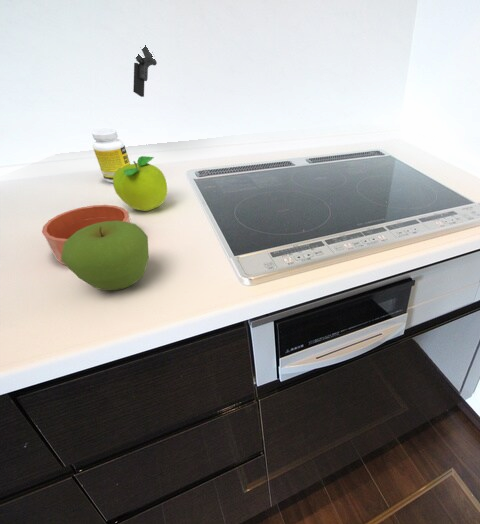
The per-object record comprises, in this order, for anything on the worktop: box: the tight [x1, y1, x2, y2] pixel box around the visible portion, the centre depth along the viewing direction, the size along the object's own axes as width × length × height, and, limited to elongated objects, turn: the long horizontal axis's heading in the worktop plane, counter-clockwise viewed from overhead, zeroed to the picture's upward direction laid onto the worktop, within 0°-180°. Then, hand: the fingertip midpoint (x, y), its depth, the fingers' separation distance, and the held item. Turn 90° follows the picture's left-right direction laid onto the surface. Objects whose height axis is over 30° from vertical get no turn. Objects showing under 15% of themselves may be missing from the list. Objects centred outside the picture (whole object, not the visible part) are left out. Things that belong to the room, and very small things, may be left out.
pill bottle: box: [91, 128, 131, 184], centre depth 84 cm, size 6×6×11 cm
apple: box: [61, 221, 150, 291], centre depth 53 cm, size 11×10×10 cm
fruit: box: [112, 155, 168, 212], centre depth 73 cm, size 9×9×10 cm
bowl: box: [41, 204, 132, 266], centre depth 62 cm, size 12×12×5 cm
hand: (110, 93), depth 84 cm, fingers open, 13 cm apart
